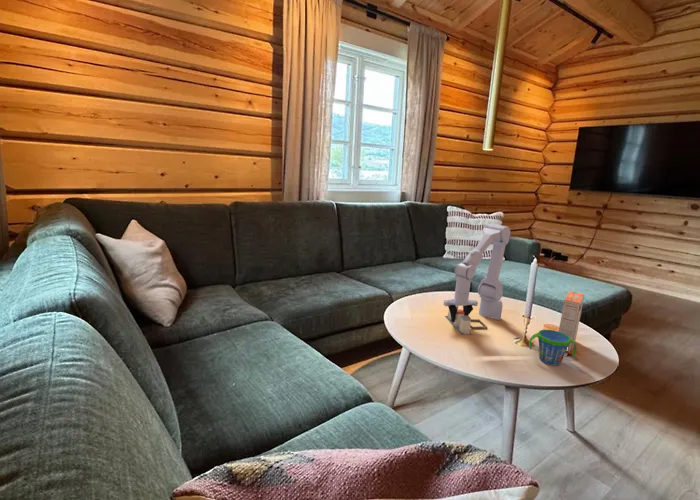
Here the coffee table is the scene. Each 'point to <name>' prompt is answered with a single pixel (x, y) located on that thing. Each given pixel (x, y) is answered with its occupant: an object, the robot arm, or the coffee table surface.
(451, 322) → the block
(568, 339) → the snack cup
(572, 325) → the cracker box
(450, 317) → the block
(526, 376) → the coffee table surface
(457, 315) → the red cap fuse
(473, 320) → the tray
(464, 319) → the fuse slot
